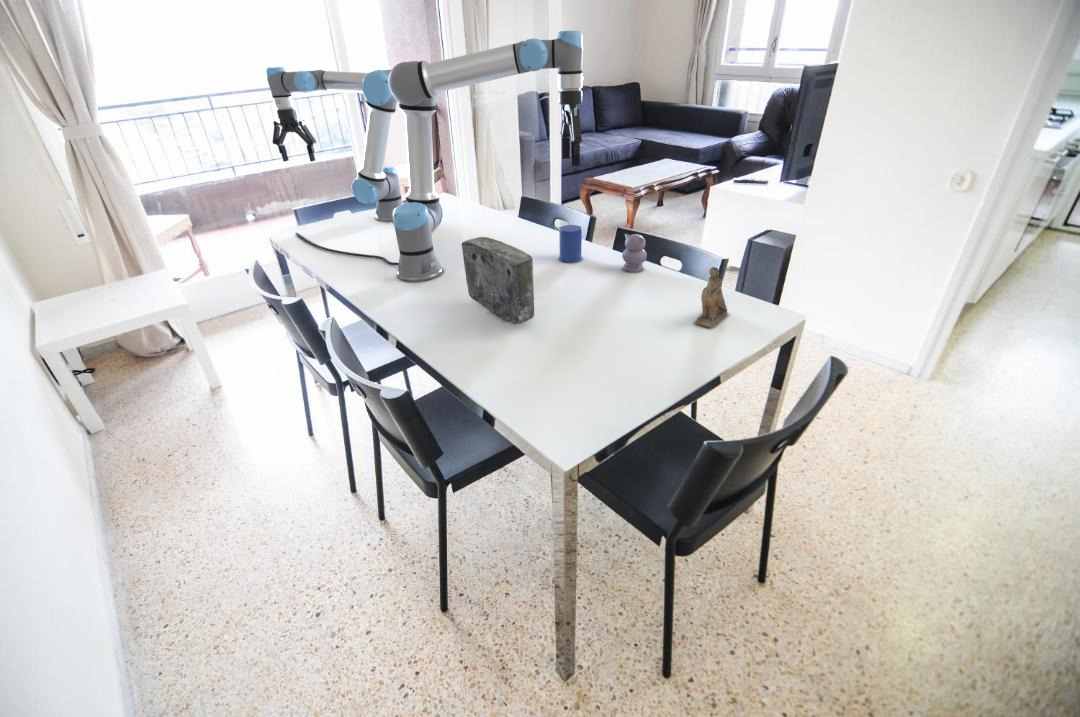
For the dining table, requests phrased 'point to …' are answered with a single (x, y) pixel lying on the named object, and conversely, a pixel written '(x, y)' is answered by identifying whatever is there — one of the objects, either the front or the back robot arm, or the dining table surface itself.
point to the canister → (570, 243)
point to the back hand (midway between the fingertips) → (299, 161)
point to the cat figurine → (634, 253)
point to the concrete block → (500, 278)
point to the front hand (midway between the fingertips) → (570, 161)
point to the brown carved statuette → (712, 301)
